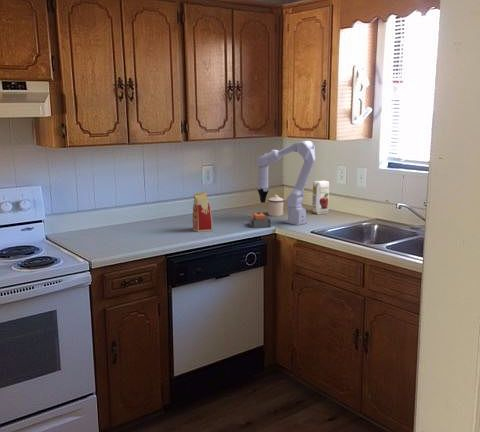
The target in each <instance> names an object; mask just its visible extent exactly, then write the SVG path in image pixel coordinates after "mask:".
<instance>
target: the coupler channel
mask: <svg viewBox="0 0 480 432" xmlns="http://www.w3.org/2000/svg"><path fill="white" fill-rule="evenodd" d="M247 219H248V220H247V221H248V223H247V224H248V225H249V226H250V228H252V229H254V228H255V229H256V228H257V229H259V228H263V229H264V228H271V218H269V216H268V215H265V219H260V220H254V219H253V216H248V218H247Z"/></svg>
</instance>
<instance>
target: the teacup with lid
mask: <svg viewBox="0 0 480 432" xmlns="http://www.w3.org/2000/svg"><path fill="white" fill-rule="evenodd" d="M267 201H268V211H267V212H268V213H267V214H268V216H270V217H282V216H283V215H284V205H285V204H284V201H285V200H284V198H282V197H280V196H279V195H278V194H274V196H272V197H270V198H268V200H267Z"/></svg>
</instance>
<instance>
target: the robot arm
mask: <svg viewBox="0 0 480 432" xmlns="http://www.w3.org/2000/svg"><path fill="white" fill-rule="evenodd" d="M315 150H316V147H315V145H314V143H313V141H310V140H304V141H303V140H302V141H299V142H294V143H291V144H290V145H288V146H286V147H284V148H282V149H280V150H277V149H271V151H270V152H268V153H264V154H263V155H260V156H258V157H257V158H256V160H255V161H256V165H257V185H255V188H256V189H257V188H258V189H257V192H258V195H259V201H260V204H261V203H262V204H264V203H266V201H267V196H268V193H269V192H270V191H269V166H270V165H271V164H273V163H276V162H277V161H280V160H281V158H282V157H283V156H286V155H288V154H290V153H293V152H294V153H295V152H296V153H298V154H299V155H300V156H301V157H302V159H303V164H302V166H301V168H300V172H299V175H298V177H297V179H296V183H295V184H294V188H293V189H292V190H291V192H290V193H289V195H288V196H287V197H286V200H285V201H286V204H287V220H285V221H284V223H286V224H290V225H295V226H301V225H304V224H307V223H308V222H307V211H306V208H304V207H303V205H302V204H303V203H304V200H305V199H304V197H305V188H306V185H307V183H308V180H309V178H310V175H311V173H312V170H313V168H314V165H315V162H316V153H315Z"/></svg>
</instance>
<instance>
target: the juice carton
mask: <svg viewBox="0 0 480 432" xmlns="http://www.w3.org/2000/svg"><path fill="white" fill-rule="evenodd" d="M311 200H312V202H311V203H312V205H311V210H312V211H311V212H312V214H314V215H317V216H318V215H327V214H329V207H330V204H329V202H330V181H327V180H323V179H322V180H313V182H312V199H311Z"/></svg>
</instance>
